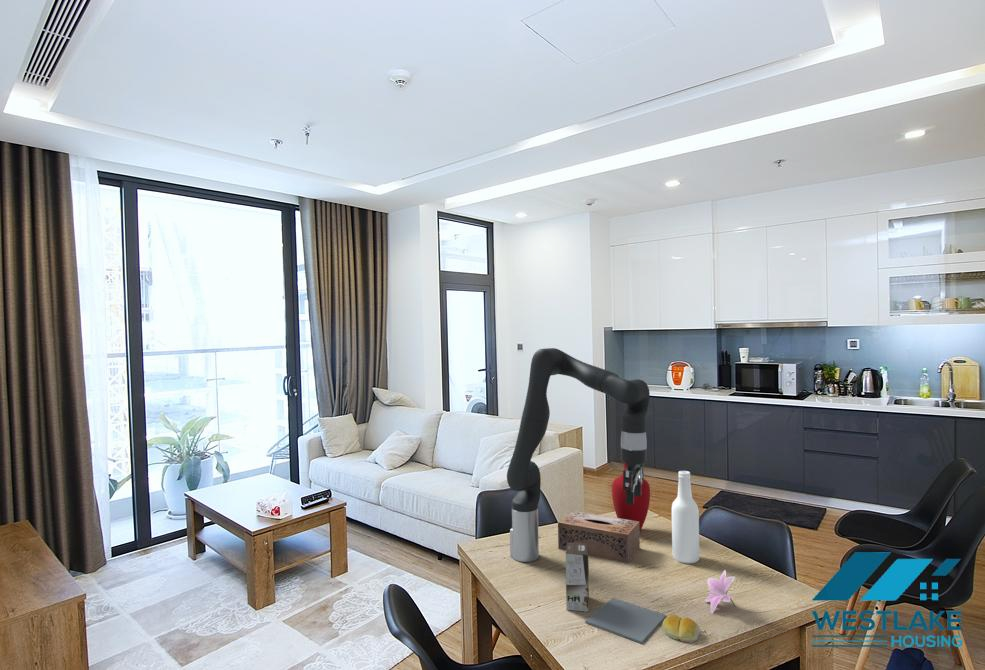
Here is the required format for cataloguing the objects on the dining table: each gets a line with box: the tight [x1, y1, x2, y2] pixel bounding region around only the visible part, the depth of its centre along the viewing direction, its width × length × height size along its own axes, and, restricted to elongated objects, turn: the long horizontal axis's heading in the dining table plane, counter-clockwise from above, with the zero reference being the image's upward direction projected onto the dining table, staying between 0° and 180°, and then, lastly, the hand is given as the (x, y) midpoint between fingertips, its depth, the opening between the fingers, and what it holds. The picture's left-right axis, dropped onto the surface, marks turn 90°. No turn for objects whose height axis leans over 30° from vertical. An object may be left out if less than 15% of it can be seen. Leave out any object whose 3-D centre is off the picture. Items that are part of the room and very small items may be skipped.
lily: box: [704, 569, 736, 615], centre depth 151 cm, size 12×12×10 cm
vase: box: [611, 462, 651, 532], centre depth 210 cm, size 15×15×30 cm
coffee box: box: [565, 542, 590, 613], centre depth 154 cm, size 9×6×16 cm
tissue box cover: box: [557, 510, 641, 564], centre depth 193 cm, size 26×14×10 cm, turn 59°
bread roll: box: [662, 614, 701, 642], centre depth 138 cm, size 8×9×4 cm
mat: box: [585, 597, 667, 645], centre depth 145 cm, size 16×16×1 cm
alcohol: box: [671, 470, 700, 565], centre depth 183 cm, size 9×9×30 cm
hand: (633, 500), depth 160 cm, fingers open, 8 cm apart
